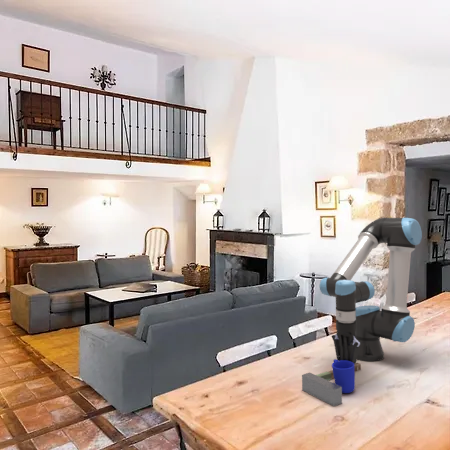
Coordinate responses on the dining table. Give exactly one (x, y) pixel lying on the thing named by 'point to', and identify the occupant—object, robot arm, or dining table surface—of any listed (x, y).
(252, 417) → the dining table surface
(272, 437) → the dining table surface
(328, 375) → the brown and green stick
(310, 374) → the grooved grey block
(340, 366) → the mug
